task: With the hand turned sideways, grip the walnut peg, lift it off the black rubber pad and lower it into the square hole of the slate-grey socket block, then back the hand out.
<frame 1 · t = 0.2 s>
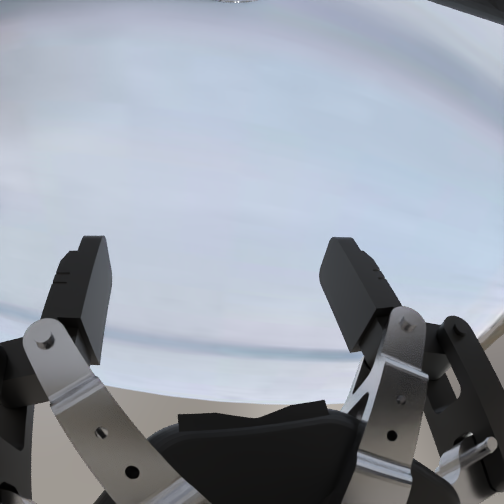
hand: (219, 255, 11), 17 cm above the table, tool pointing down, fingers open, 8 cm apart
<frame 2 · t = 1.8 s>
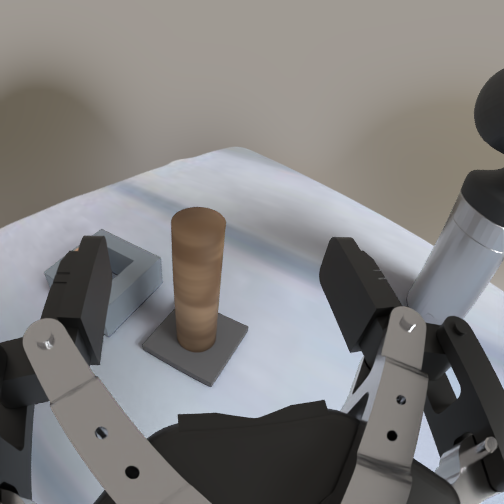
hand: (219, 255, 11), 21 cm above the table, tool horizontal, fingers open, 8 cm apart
walnut peg: (196, 336, 32), point 1 cm above the table, touching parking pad
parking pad: (196, 340, 33), on the table
socket block: (106, 289, 36), on the table
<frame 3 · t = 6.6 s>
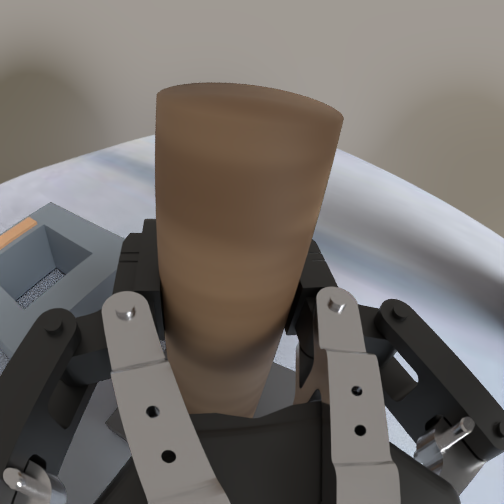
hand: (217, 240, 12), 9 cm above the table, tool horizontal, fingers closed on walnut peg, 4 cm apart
walnut peg: (214, 405, 15), point 1 cm above the table, touching gripper, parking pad
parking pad: (213, 411, 15), on the table
socket block: (51, 305, 19), on the table
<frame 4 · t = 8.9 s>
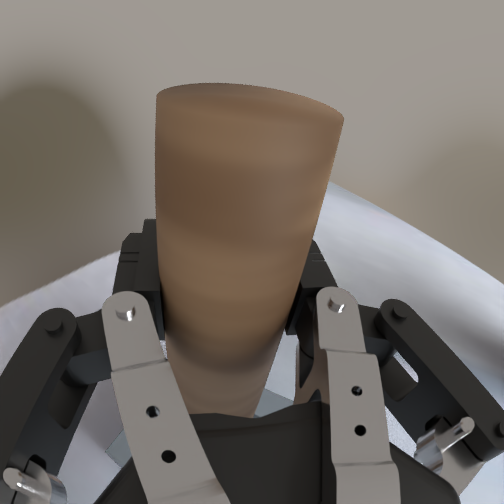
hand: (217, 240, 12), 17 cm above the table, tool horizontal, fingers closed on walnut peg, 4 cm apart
walnut peg: (214, 406, 15), point 9 cm above the table, touching gripper
socket block: (210, 450, 21), on the table
when the fingers open (10 cm above the table, at t = 11.3 s): walnut peg drops 2 cm, resting in socket block.
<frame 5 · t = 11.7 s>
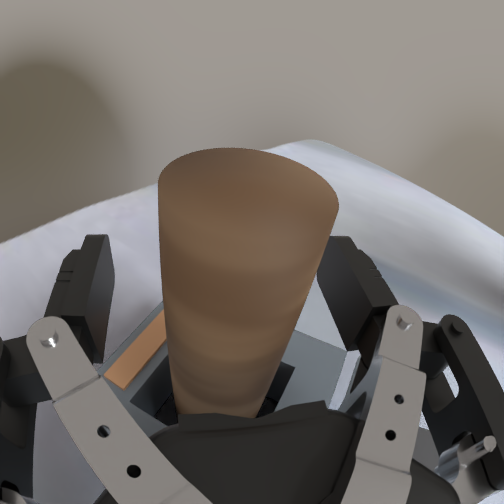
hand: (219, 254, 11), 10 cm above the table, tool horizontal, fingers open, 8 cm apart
walnut peg: (214, 419, 16), resting in socket block
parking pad: (418, 492, 13), on the table
socket block: (212, 418, 16), on the table
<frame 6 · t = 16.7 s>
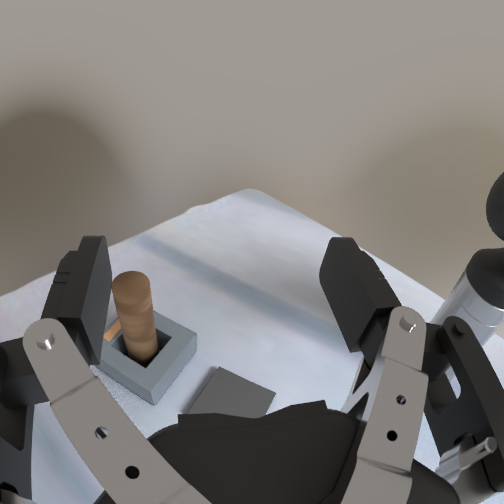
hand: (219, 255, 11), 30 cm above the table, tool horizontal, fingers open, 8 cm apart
walnut peg: (145, 359, 40), resting in socket block
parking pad: (232, 406, 36), on the table
socket block: (145, 359, 40), on the table
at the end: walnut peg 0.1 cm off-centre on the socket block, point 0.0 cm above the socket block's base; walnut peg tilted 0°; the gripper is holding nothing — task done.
